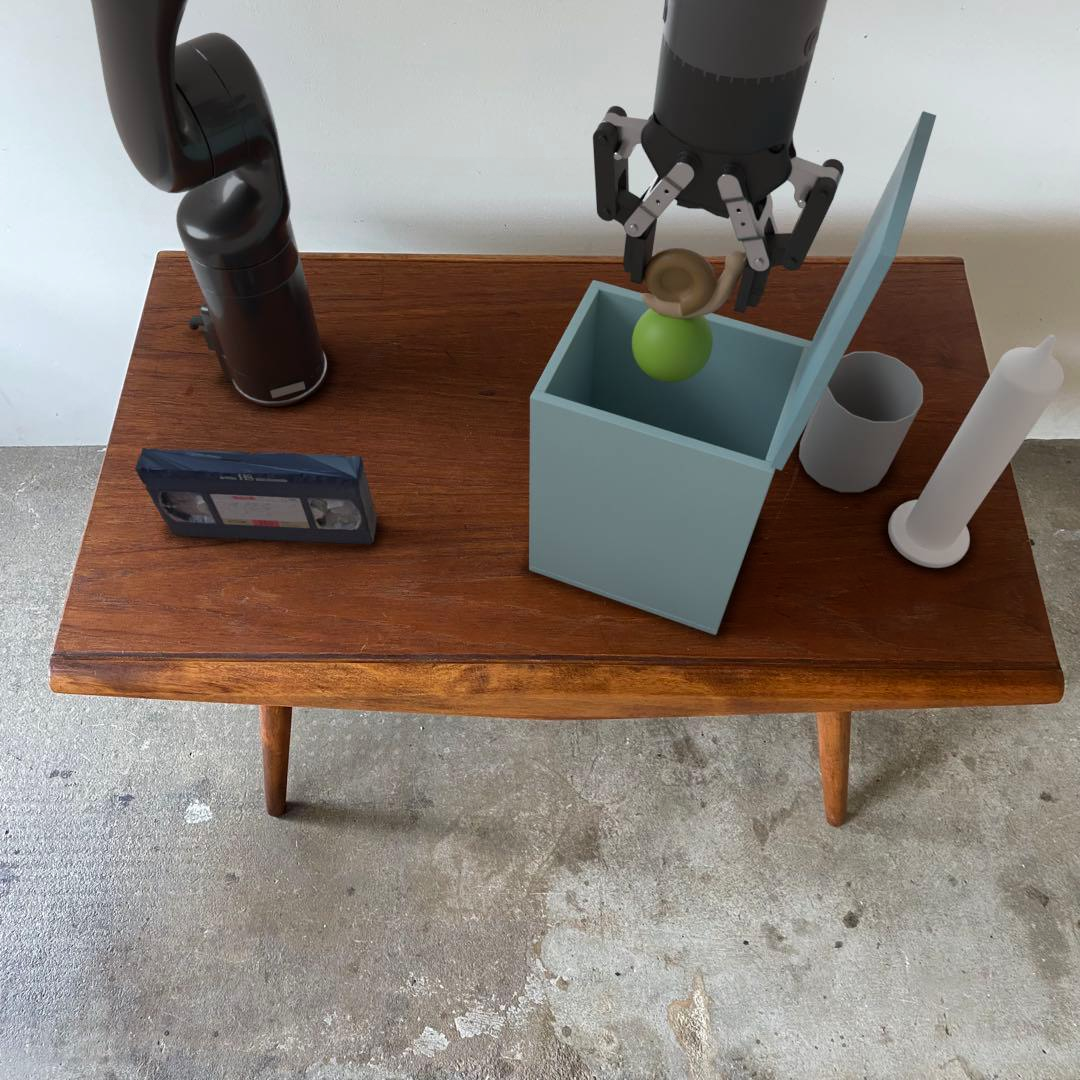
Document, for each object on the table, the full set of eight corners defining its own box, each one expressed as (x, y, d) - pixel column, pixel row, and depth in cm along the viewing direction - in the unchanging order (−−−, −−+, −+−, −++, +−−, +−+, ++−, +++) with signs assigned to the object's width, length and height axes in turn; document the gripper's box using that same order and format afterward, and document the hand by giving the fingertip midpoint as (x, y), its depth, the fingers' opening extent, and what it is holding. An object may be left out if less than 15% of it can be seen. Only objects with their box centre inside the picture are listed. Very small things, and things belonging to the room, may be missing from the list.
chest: (528, 570, 85) (529, 396, 66) (579, 465, 91) (593, 279, 72) (715, 635, 81) (774, 473, 62) (754, 521, 88) (817, 342, 69)
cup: (896, 441, 93) (933, 369, 85) (875, 504, 89) (911, 435, 81) (812, 413, 95) (839, 340, 87) (787, 473, 91) (814, 402, 82)
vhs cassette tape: (170, 536, 86) (132, 468, 78) (179, 509, 88) (143, 440, 79) (373, 549, 86) (357, 483, 77) (379, 522, 87) (363, 454, 79)
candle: (952, 581, 85) (1091, 389, 64) (875, 545, 87) (987, 347, 66) (977, 525, 88) (1118, 324, 67) (903, 491, 90) (1018, 286, 69)
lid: (879, 252, 47) (895, 257, 47) (922, 110, 53) (936, 115, 53) (769, 466, 62) (781, 471, 62) (814, 336, 68) (824, 340, 68)
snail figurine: (715, 407, 66) (750, 270, 56) (623, 392, 66) (641, 253, 56) (723, 350, 69) (758, 210, 59) (634, 336, 69) (653, 195, 59)
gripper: (901, 21, 48) (815, 282, 62) (626, -38, 50) (603, 224, 64) (871, 104, 44) (786, 361, 58) (576, 35, 46) (563, 297, 61)
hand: (690, 288), depth 61 cm, fingers closed on snail figurine, 6 cm apart
